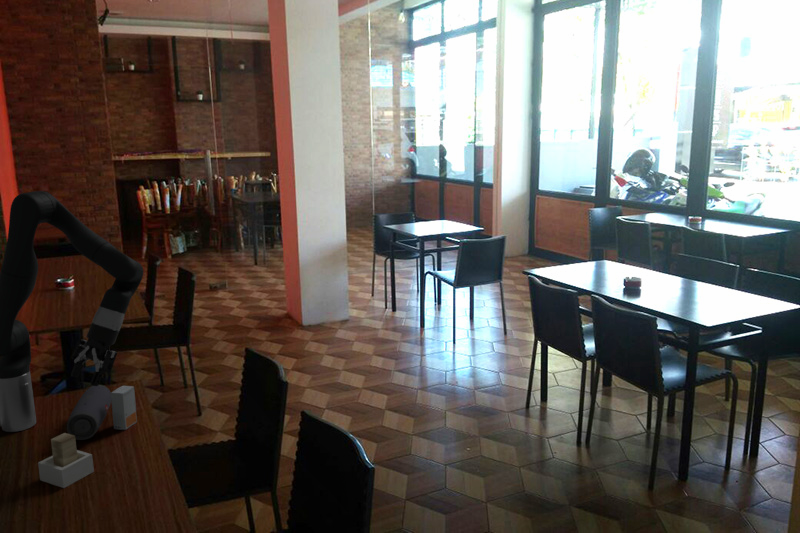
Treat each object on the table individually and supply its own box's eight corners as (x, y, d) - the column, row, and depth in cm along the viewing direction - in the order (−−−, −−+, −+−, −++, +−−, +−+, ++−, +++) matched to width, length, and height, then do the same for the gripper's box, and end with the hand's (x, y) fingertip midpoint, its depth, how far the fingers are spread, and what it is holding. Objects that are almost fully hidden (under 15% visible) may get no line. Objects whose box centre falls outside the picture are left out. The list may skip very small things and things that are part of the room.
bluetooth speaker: (101, 442, 186) (98, 410, 184) (66, 446, 183) (62, 413, 181) (115, 410, 207) (112, 381, 205) (84, 413, 205) (81, 384, 203)
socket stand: (40, 480, 165) (38, 462, 164) (70, 464, 173) (68, 447, 172) (63, 488, 161) (61, 470, 160) (93, 471, 169) (92, 454, 168)
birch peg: (55, 474, 166) (50, 439, 164) (68, 467, 169) (64, 432, 167) (65, 477, 164) (61, 442, 162) (79, 470, 168) (75, 435, 166)
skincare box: (126, 430, 193) (122, 393, 190) (113, 429, 194) (109, 392, 191) (137, 421, 199) (134, 386, 196) (125, 420, 199) (122, 385, 197)
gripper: (79, 316, 178) (56, 372, 175) (112, 328, 172) (89, 386, 169) (100, 322, 185) (79, 376, 182) (133, 334, 178) (111, 390, 175)
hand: (83, 381), depth 175 cm, fingers open, 8 cm apart
